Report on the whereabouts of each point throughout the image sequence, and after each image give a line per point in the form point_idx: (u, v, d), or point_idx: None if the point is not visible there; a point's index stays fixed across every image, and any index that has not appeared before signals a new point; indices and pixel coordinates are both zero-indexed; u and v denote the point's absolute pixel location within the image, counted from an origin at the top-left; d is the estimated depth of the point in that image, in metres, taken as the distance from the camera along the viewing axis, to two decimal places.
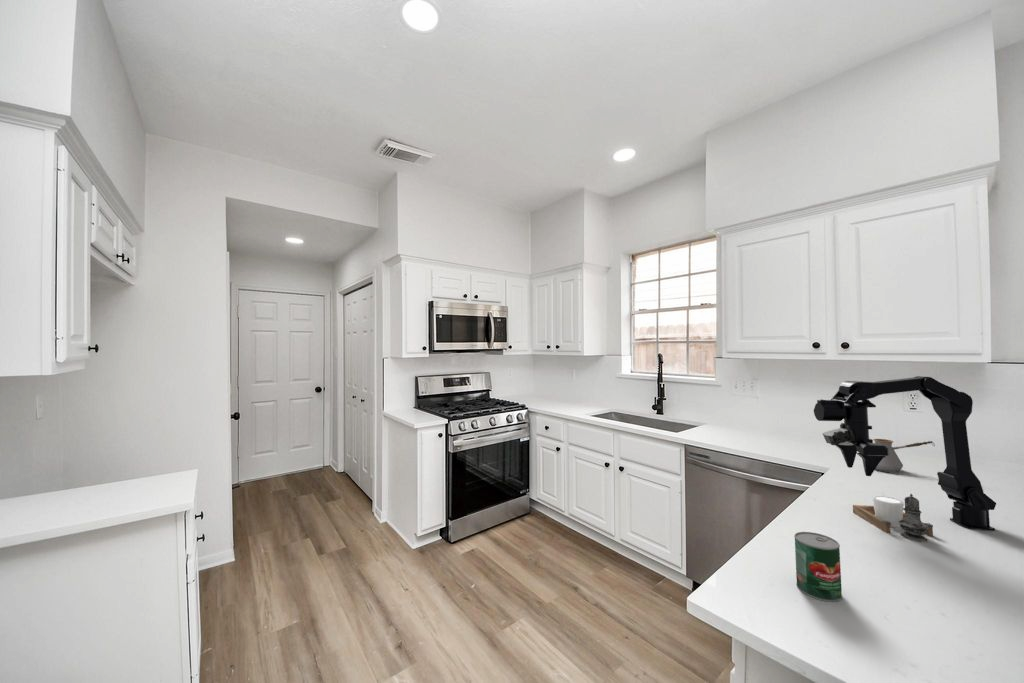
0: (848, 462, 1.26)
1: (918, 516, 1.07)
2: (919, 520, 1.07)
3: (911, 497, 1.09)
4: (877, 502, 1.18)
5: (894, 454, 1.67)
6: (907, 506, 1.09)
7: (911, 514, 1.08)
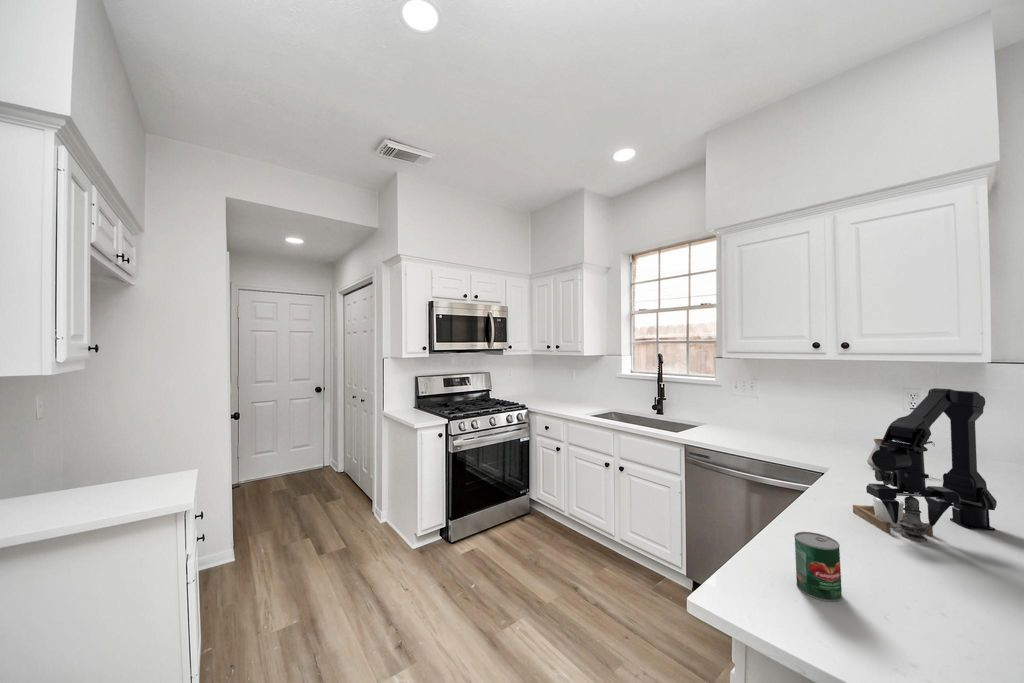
0: (930, 519, 1.08)
1: (918, 516, 1.07)
2: (919, 520, 1.07)
3: (911, 497, 1.09)
4: (877, 502, 1.18)
5: None
6: (907, 506, 1.09)
7: (911, 514, 1.08)
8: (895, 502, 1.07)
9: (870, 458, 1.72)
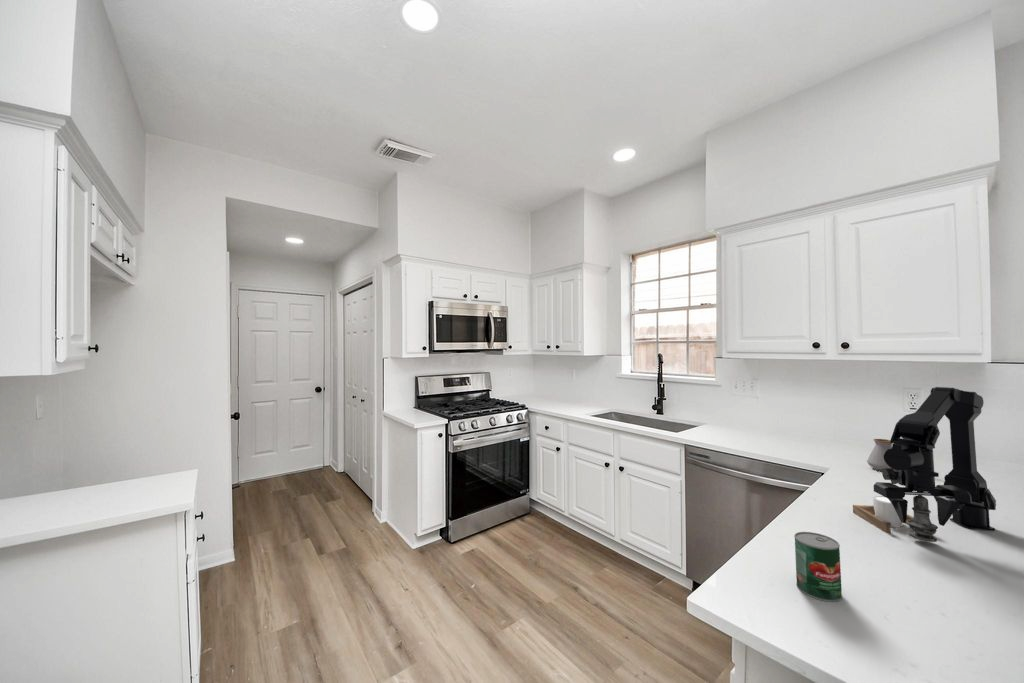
0: (940, 518, 1.05)
1: (927, 516, 1.04)
2: (928, 520, 1.04)
3: (920, 496, 1.06)
4: (877, 502, 1.18)
5: None
6: (916, 505, 1.06)
7: (921, 514, 1.05)
8: (903, 501, 1.04)
9: (870, 458, 1.72)
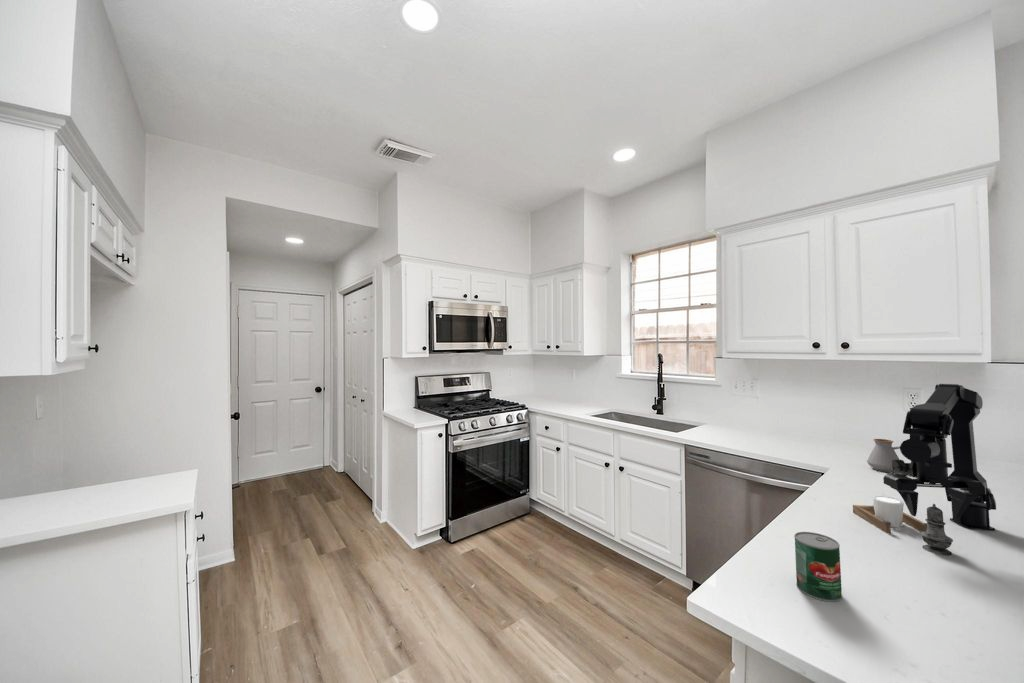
0: (954, 511, 1.01)
1: (935, 527, 1.01)
2: (937, 532, 1.00)
3: (932, 507, 1.02)
4: (877, 502, 1.18)
5: (894, 454, 1.67)
6: (927, 515, 1.03)
7: (928, 524, 1.02)
8: (914, 493, 1.00)
9: (870, 458, 1.72)
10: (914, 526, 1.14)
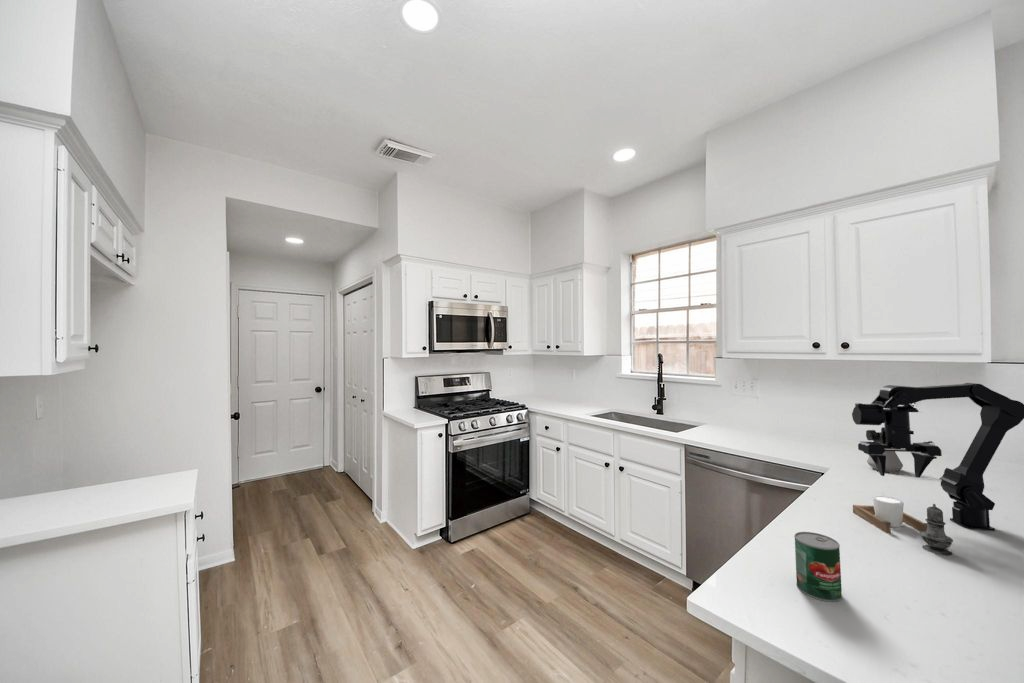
0: (916, 471, 1.20)
1: (935, 527, 1.01)
2: (937, 532, 1.00)
3: (932, 507, 1.02)
4: (877, 502, 1.18)
5: (894, 454, 1.67)
6: (927, 515, 1.03)
7: (928, 524, 1.02)
8: (882, 456, 1.20)
9: (870, 458, 1.72)
10: (914, 526, 1.14)
